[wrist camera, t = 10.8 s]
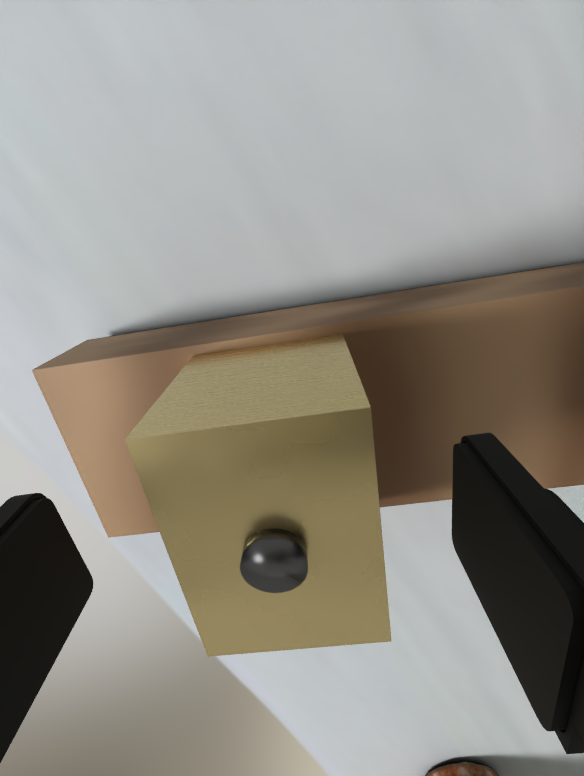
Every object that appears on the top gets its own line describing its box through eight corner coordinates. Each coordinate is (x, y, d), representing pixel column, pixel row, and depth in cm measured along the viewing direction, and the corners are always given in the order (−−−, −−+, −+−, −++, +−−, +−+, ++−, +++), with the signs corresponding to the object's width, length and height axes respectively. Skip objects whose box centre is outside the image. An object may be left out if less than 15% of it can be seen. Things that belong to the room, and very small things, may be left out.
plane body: (675, 244, 14) (809, 252, 10) (637, 413, 17) (733, 467, 13) (85, 337, 16) (20, 371, 12) (138, 476, 18) (98, 538, 15)
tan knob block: (342, 333, 11) (374, 417, 6) (361, 502, 14) (395, 658, 9) (193, 355, 12) (114, 452, 7) (237, 516, 14) (203, 673, 9)
